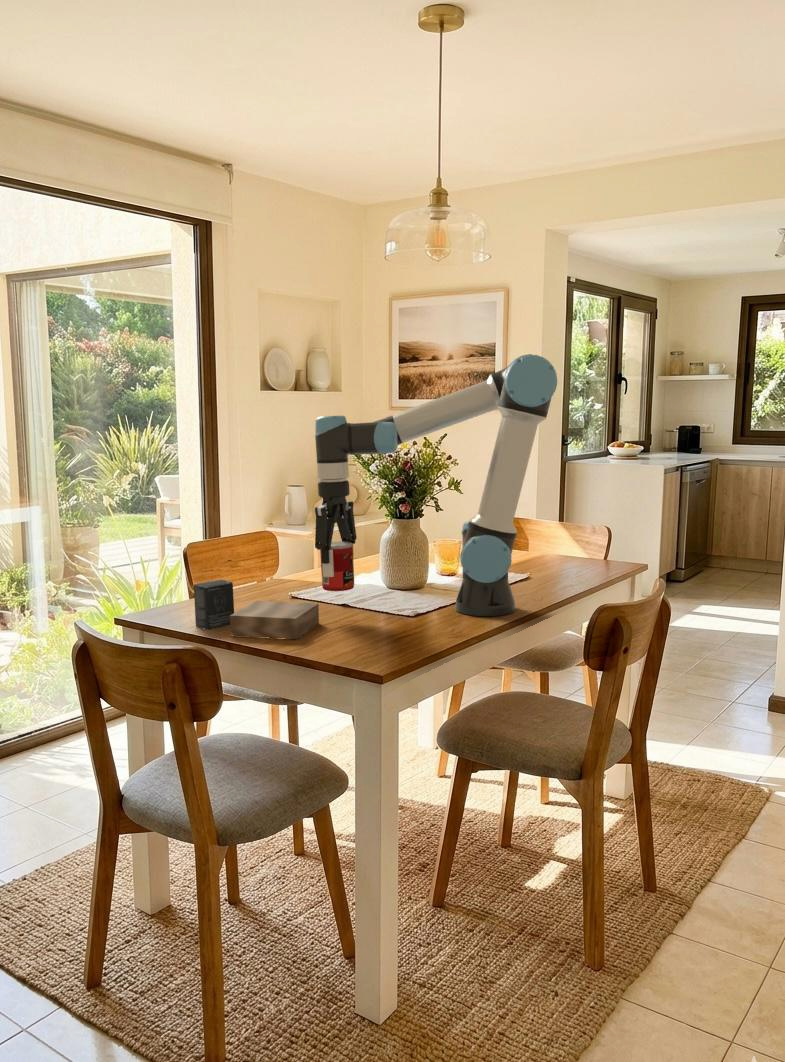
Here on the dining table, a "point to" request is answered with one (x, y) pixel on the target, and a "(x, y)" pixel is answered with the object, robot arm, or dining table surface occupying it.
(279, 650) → the dining table surface
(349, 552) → the canned food
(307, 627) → the brown wooden block
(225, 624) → the box
